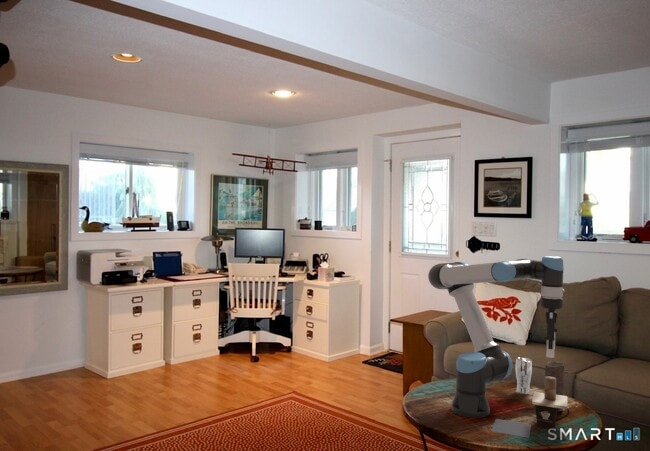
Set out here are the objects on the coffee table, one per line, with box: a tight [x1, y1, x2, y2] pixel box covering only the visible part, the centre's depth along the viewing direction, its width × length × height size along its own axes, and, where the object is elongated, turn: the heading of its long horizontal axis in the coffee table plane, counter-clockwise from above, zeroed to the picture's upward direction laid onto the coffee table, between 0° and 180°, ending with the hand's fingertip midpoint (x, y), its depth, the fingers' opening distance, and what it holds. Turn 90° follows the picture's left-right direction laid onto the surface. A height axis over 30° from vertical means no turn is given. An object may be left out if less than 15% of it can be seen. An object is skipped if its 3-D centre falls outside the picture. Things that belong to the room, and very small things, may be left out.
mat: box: [491, 418, 532, 439], centre depth 199 cm, size 13×13×1 cm
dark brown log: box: [543, 361, 565, 412], centre depth 218 cm, size 8×7×20 cm
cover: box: [531, 376, 568, 410], centre depth 201 cm, size 12×12×9 cm
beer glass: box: [515, 357, 533, 395], centre depth 240 cm, size 7×7×15 cm
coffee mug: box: [534, 405, 570, 429], centre depth 201 cm, size 12×9×10 cm
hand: (550, 352), depth 200 cm, fingers open, 13 cm apart
